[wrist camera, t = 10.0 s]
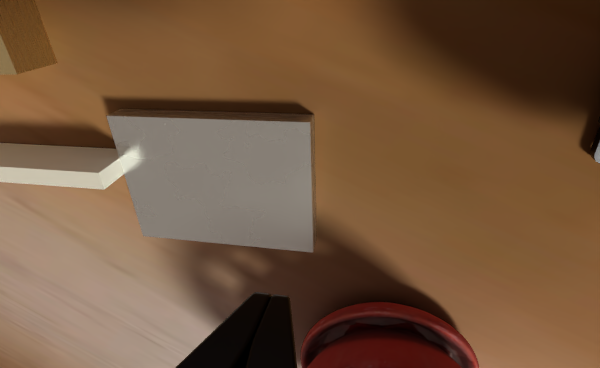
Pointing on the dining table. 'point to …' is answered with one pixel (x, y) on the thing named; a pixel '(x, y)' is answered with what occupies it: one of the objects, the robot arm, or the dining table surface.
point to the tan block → (23, 38)
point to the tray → (59, 165)
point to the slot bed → (220, 175)
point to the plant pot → (385, 340)
